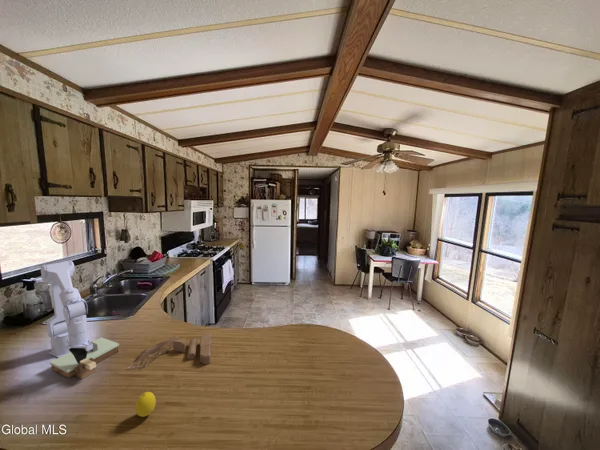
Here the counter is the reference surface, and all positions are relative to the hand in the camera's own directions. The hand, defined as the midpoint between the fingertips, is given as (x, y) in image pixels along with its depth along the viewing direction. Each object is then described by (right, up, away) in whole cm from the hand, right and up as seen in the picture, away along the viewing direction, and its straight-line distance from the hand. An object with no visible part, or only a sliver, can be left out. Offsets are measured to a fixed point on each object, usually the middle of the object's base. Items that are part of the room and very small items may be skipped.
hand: (81, 362), depth 95 cm
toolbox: (-3, -4, +7) cm, 9 cm away
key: (+4, -1, -2) cm, 5 cm away
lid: (-5, -1, +8) cm, 9 cm away
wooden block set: (+40, -4, +11) cm, 42 cm away
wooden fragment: (+22, -4, +14) cm, 27 cm away
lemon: (+39, -7, -18) cm, 44 cm away
